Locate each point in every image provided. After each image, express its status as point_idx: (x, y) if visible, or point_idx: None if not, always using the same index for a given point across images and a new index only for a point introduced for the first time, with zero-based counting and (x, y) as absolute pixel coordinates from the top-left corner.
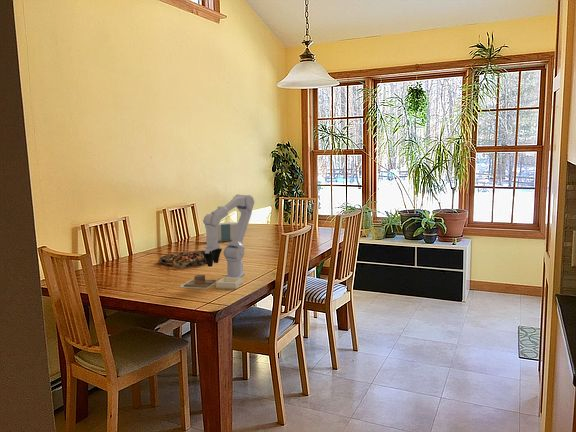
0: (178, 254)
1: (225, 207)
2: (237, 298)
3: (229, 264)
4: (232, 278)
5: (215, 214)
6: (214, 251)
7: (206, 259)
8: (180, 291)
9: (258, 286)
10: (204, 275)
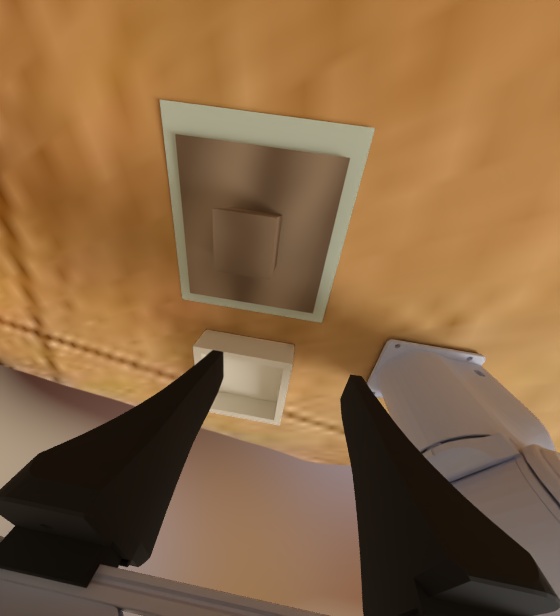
0: None
1: None
2: (124, 399)
3: (416, 422)
4: (279, 394)
5: None
6: (392, 544)
7: (151, 402)
8: (95, 155)
9: (255, 438)
10: (260, 277)
